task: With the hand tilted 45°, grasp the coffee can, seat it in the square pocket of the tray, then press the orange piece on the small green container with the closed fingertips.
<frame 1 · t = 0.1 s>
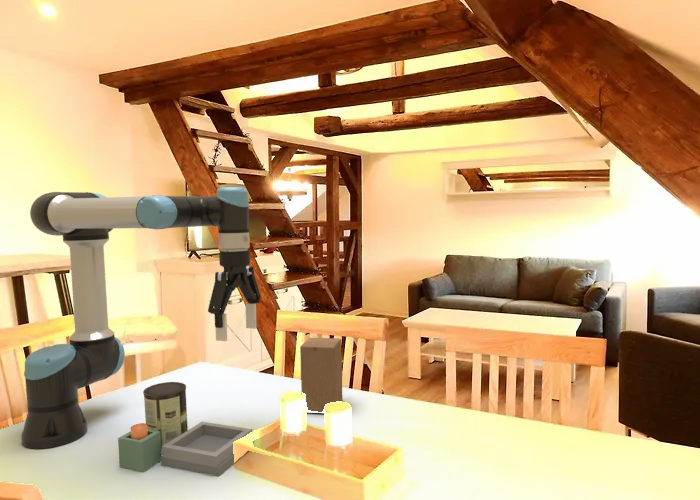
hand: (237, 334, 131), 28 cm above the table, tool pointing down, fingers open, 13 cm apart
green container: (141, 463, 122), on the table
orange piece: (139, 436, 122), point 6 cm above the table, slide at 0.0 cm
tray: (209, 455, 126), on the table
coffee can: (167, 442, 134), on the table
wooden block: (322, 408, 154), on the table
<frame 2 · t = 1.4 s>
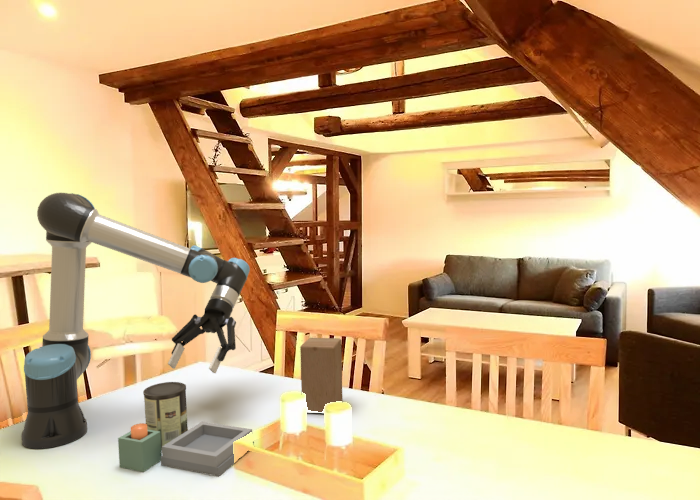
hand: (191, 368, 142), 16 cm above the table, tool tilted 45°, fingers open, 13 cm apart
nothing on the table moved.
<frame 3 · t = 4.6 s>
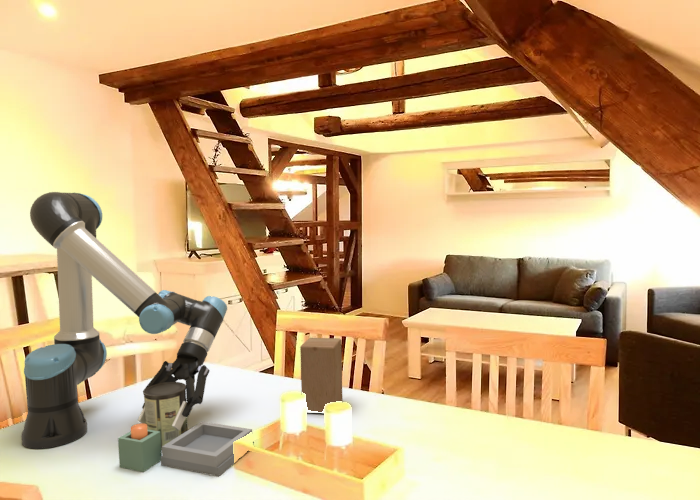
hand: (158, 425, 131), 6 cm above the table, tool tilted 45°, fingers closed on coffee can, 10 cm apart
coffee can: (167, 442, 134), on the table, touching gripper
everything else where it was.
when the fingers open (9 cm above the table, at t = 9.7 s): coffee can drops 1 cm, resting on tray.
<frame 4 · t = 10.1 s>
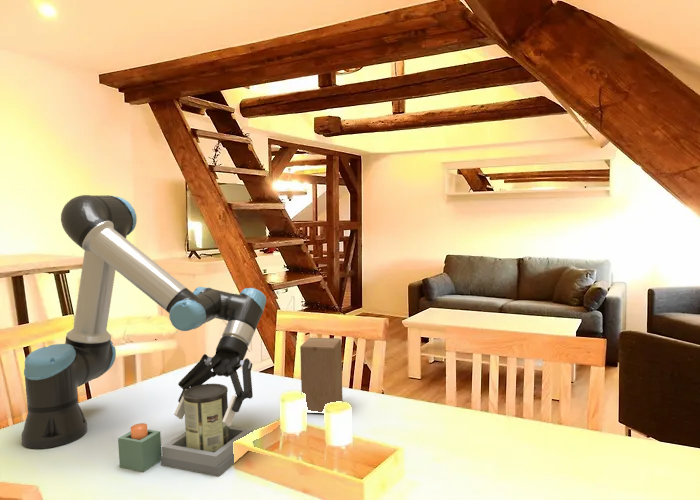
hand: (201, 420, 123), 10 cm above the table, tool tilted 45°, fingers open, 13 cm apart
coffee can: (208, 448, 126), point 2 cm above the table, touching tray
everything else where it was.
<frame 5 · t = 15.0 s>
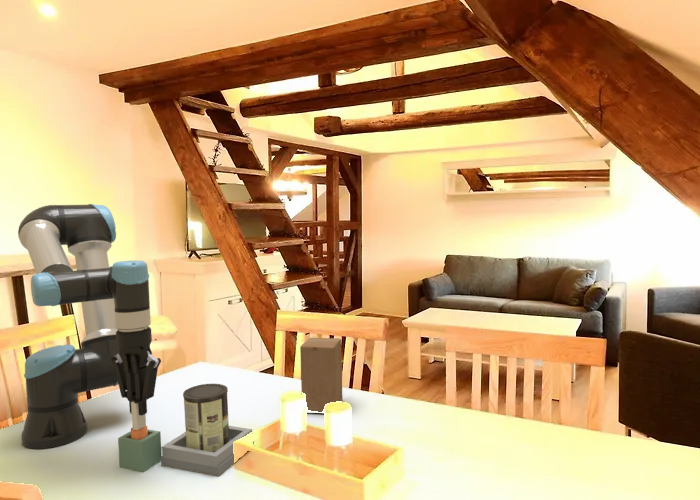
hand: (139, 427, 121), 9 cm above the table, tool pointing down, fingers closed
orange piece: (139, 438, 122), point 6 cm above the table, slide at 0.4 cm, touching gripper
everything else where it was.
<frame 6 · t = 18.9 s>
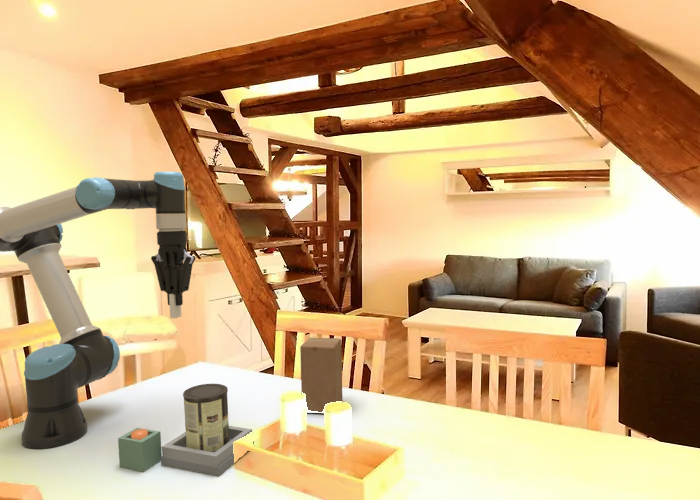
hand: (175, 317, 141), 30 cm above the table, tool pointing down, fingers closed
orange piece: (139, 442, 122), point 5 cm above the table, slide at 1.4 cm
everything else where it was.
at the end: coffee can inside the target area (0.3 cm from its centre), point 1.8 cm above the table; coffee can tilted 0°; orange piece slide at 1.4 cm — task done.
